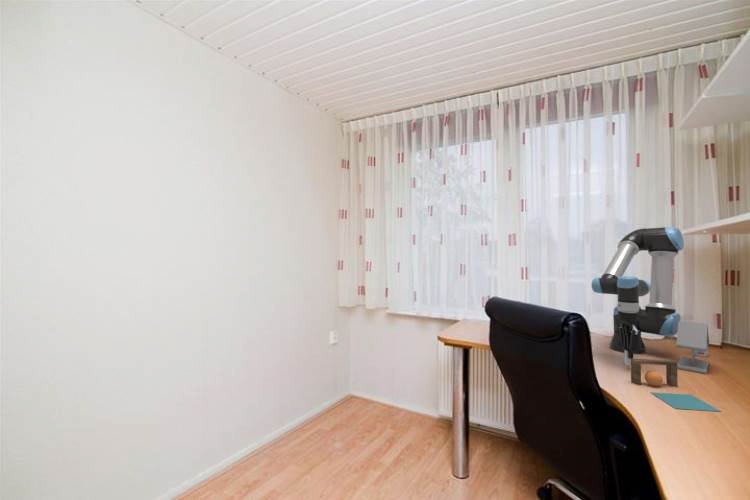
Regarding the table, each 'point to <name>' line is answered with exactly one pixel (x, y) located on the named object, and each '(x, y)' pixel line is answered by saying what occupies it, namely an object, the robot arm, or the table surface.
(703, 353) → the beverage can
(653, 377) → the ball
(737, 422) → the table surface
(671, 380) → the bridge
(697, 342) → the folded metal stand
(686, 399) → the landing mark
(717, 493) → the table surface
